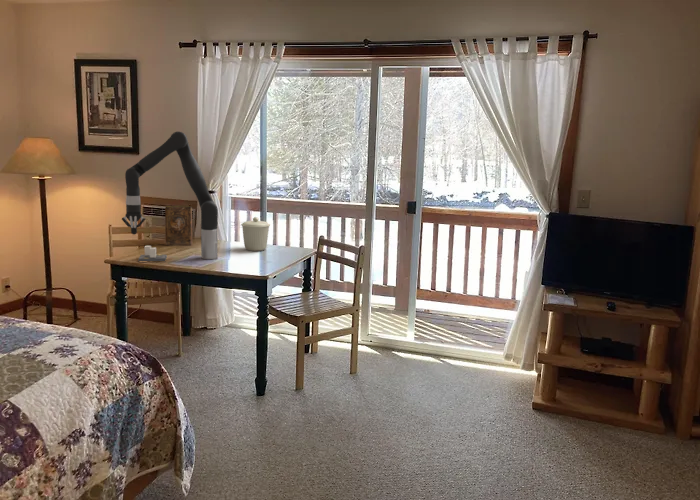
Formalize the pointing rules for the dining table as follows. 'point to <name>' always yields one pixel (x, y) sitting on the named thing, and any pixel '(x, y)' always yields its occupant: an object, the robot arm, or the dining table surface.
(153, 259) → the switch board
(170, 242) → the book
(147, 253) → the tab
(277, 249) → the dining table surface
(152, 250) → the tab
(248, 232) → the canister
